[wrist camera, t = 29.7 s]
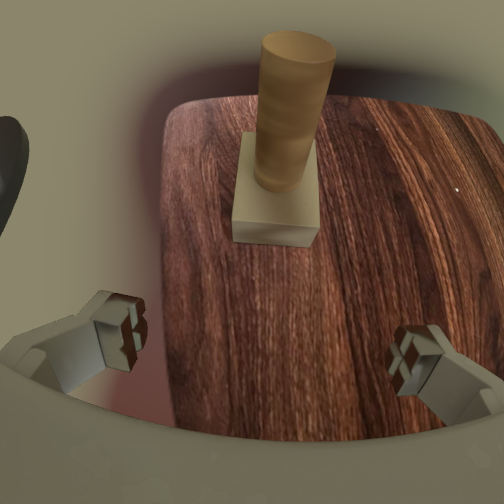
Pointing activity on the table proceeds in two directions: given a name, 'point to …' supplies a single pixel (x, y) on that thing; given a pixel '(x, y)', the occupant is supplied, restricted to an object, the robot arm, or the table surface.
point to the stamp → (283, 144)
